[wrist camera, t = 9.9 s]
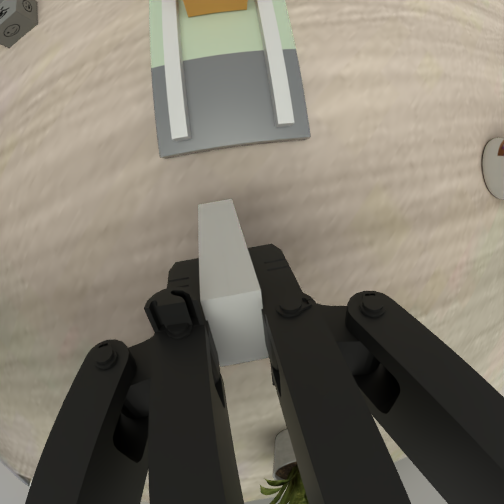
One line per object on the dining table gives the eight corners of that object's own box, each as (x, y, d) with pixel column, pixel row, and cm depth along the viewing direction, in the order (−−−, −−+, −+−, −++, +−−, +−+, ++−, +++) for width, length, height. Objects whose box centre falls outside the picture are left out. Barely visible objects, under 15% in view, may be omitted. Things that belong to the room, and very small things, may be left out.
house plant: (219, 455, 33) (216, 551, 18) (252, 397, 30) (263, 522, 14) (306, 466, 35) (324, 549, 20) (353, 412, 32) (394, 509, 16)
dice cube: (9, 48, 17) (-14, 38, 12) (9, 24, 16) (-11, 14, 11) (37, 24, 17) (15, 10, 12) (37, 2, 16) (17, -12, 11)
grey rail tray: (305, 139, 23) (329, 127, 16) (165, 158, 23) (139, 153, 16) (274, -19, 18) (284, -60, 12) (154, -3, 18) (135, -40, 11)
